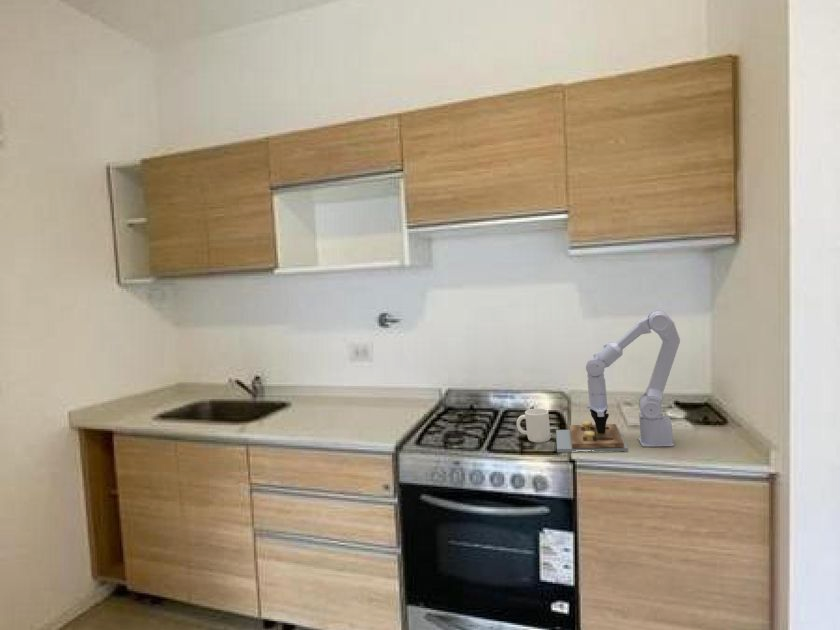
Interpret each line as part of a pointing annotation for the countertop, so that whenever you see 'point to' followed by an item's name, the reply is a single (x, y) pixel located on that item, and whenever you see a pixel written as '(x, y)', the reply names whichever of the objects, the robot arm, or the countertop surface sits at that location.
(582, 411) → the countertop surface
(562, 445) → the boss board
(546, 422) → the mug
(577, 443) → the panel
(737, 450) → the countertop surface
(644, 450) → the countertop surface
